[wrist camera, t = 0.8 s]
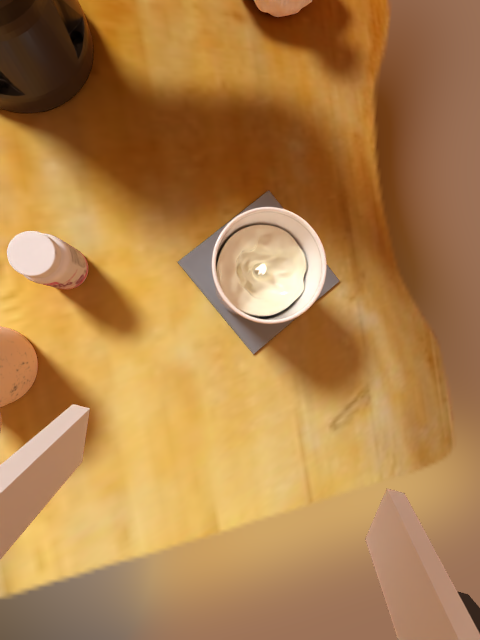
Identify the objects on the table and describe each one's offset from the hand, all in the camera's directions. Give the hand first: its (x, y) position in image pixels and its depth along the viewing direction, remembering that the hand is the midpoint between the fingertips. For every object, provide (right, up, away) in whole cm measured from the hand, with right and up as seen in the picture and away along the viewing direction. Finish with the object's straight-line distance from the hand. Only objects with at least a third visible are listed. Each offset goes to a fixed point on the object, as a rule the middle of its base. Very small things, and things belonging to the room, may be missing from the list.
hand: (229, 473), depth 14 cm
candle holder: (+1, +11, +26) cm, 28 cm away
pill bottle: (-19, +12, +23) cm, 32 cm away
